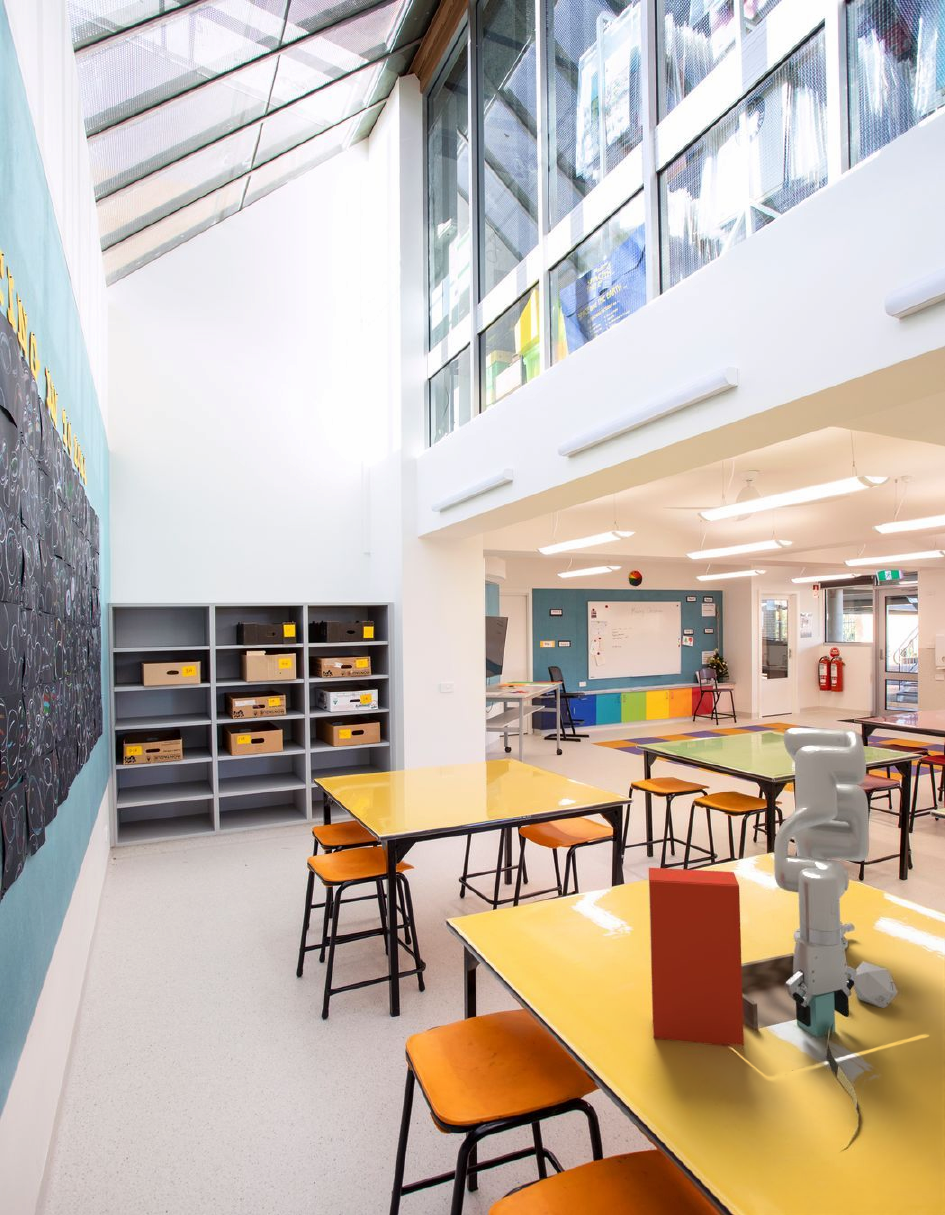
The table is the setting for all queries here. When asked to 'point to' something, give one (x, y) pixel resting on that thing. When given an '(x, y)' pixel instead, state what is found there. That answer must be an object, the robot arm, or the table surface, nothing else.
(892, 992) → the die
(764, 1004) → the open box
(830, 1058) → the curved strip
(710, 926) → the file binder
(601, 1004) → the table surface
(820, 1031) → the teal block
